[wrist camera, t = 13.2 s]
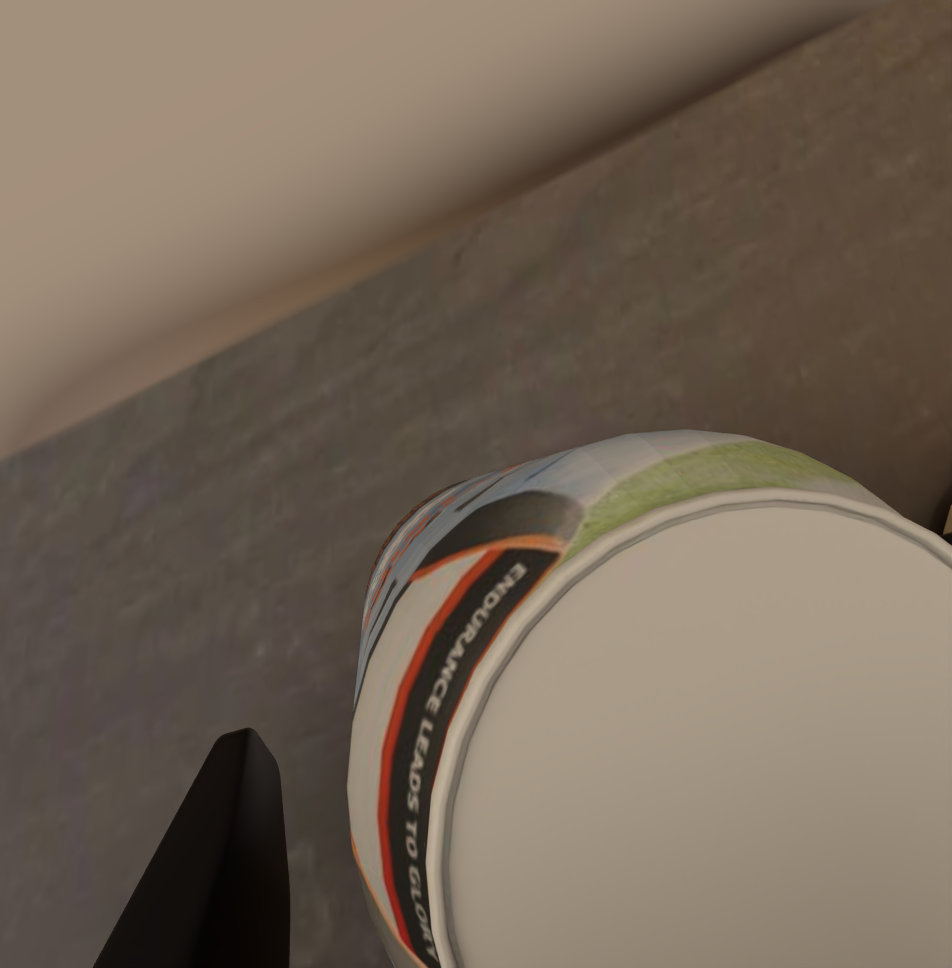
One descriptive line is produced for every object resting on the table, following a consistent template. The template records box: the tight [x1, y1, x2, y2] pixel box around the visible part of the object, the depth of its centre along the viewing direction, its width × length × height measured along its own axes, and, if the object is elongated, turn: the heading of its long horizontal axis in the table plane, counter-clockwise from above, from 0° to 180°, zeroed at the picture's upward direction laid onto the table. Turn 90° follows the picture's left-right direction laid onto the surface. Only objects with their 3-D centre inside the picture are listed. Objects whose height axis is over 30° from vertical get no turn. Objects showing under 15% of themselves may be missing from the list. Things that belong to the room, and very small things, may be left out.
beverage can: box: [347, 429, 952, 968], centre depth 10 cm, size 6×7×12 cm
